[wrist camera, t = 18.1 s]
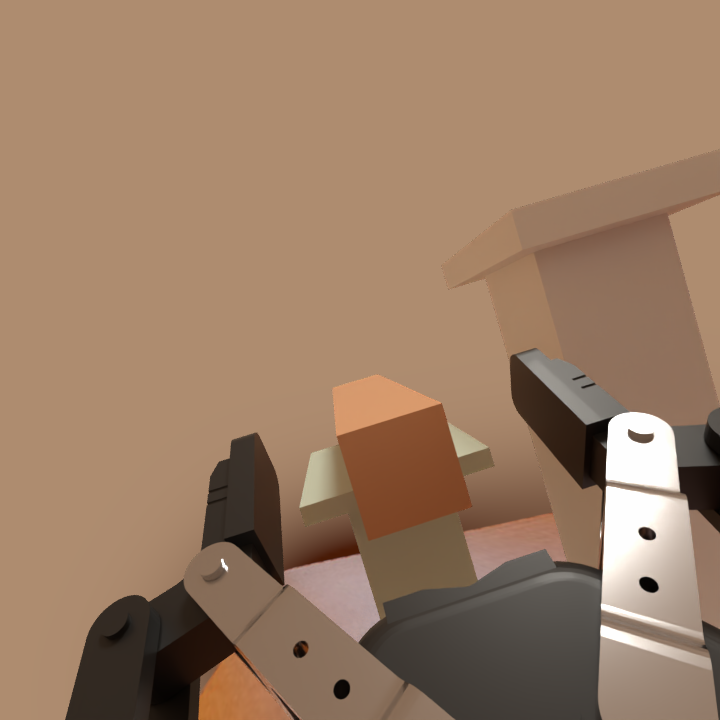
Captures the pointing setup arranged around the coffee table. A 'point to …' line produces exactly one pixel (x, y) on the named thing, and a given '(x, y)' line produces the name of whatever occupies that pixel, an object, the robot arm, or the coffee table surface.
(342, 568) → the coffee table surface
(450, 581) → the short stand
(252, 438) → the robot arm
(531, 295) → the tall stand
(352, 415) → the beam
